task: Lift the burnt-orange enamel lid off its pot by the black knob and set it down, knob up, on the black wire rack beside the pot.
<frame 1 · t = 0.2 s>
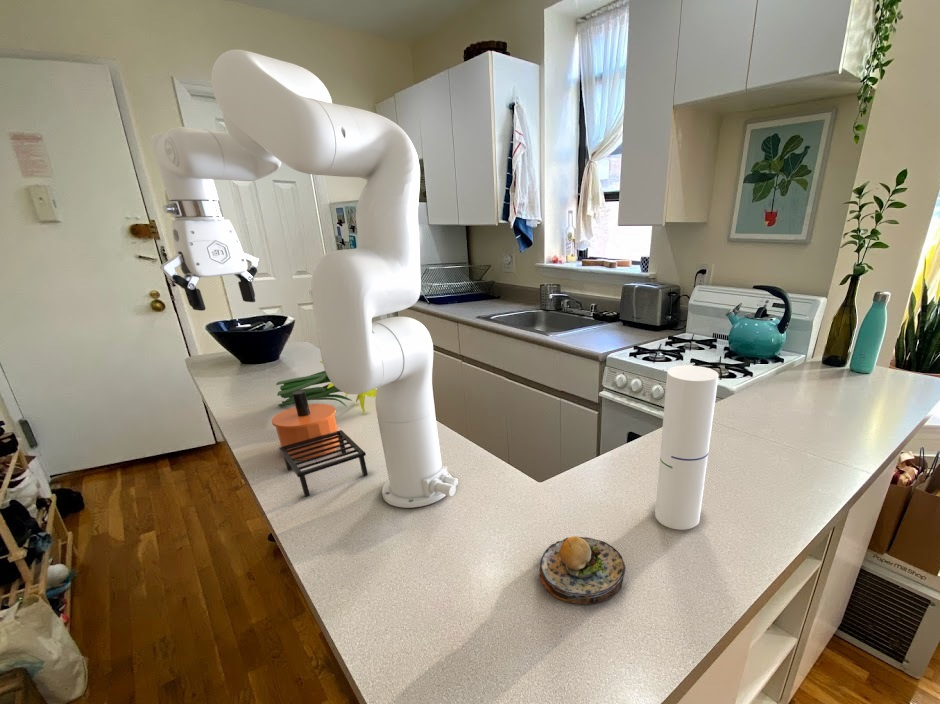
hand: (225, 305, 92), 31 cm above the worktop, tool pointing down, fingers open, 9 cm apart
burger: (581, 574, 65), on the worktop
cylindrical container: (676, 517, 77), on the worktop
lid: (304, 416, 99), point 7 cm above the worktop, touching pot
rack: (326, 472, 92), on the worktop
pot: (312, 447, 102), on the worktop
daffodil flowers: (328, 410, 122), on the worktop
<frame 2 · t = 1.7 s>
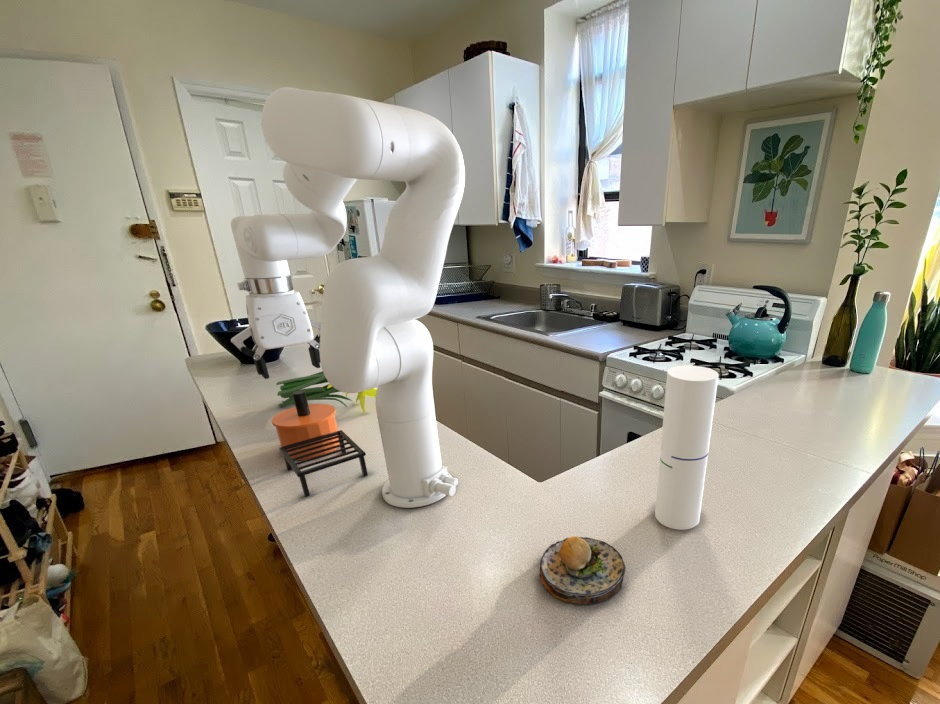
hand: (291, 371, 95), 18 cm above the worktop, tool pointing down, fingers open, 9 cm apart
nothing on the worktop moved.
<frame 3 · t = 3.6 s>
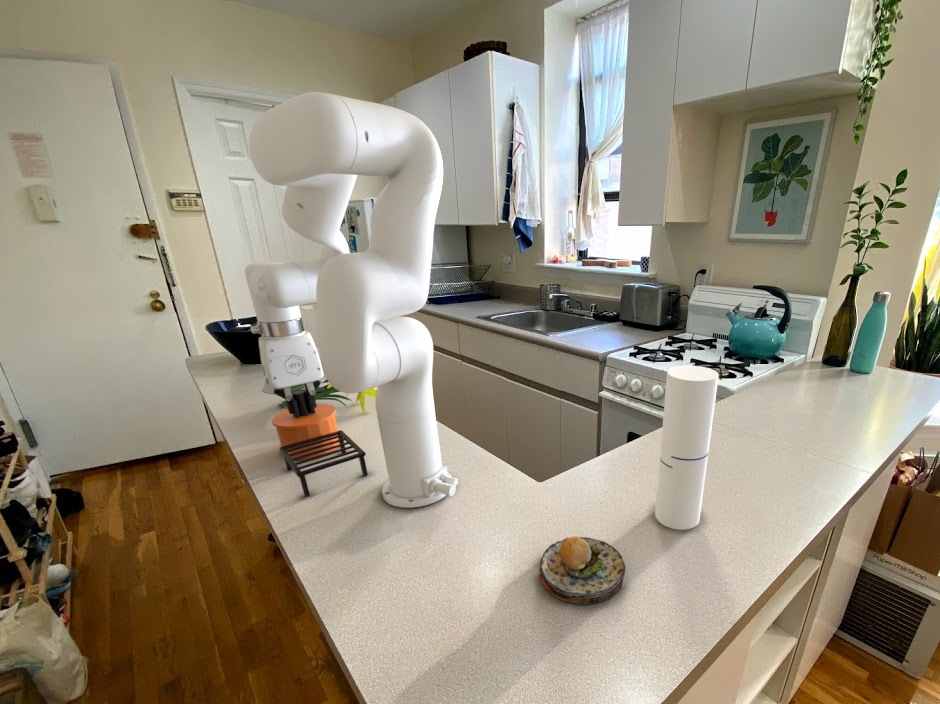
hand: (303, 413, 99), 8 cm above the worktop, tool pointing down, fingers closed on lid, 2 cm apart
lid: (304, 416, 99), point 8 cm above the worktop, touching gripper, pot
everything else where it was.
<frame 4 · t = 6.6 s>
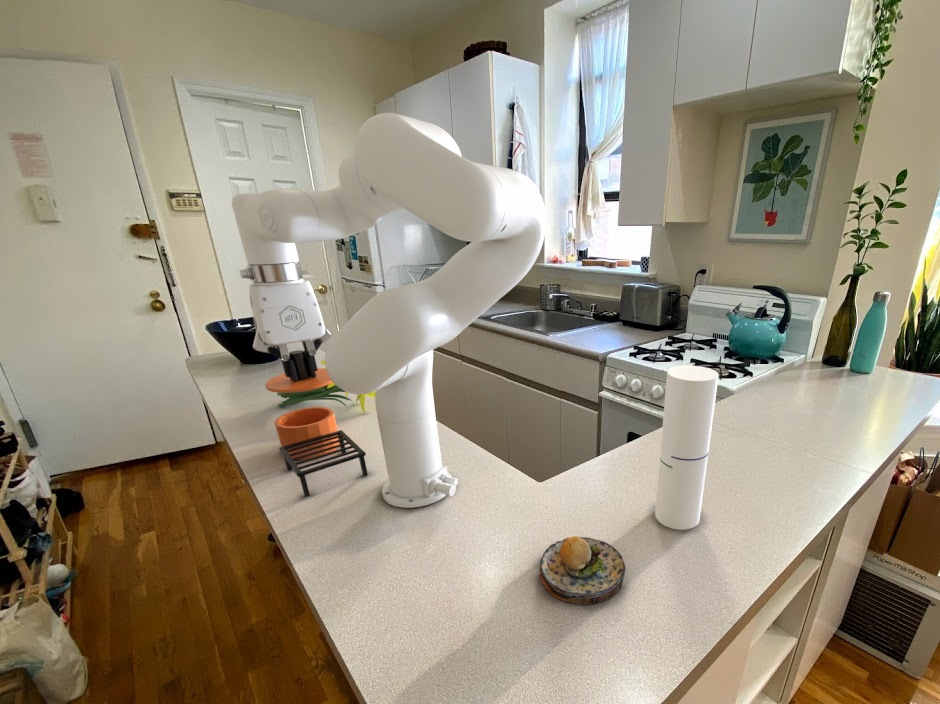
hand: (302, 377, 85), 20 cm above the worktop, tool pointing down, fingers closed on lid, 2 cm apart
lid: (303, 381, 86), point 19 cm above the worktop, touching gripper
everything else where it was.
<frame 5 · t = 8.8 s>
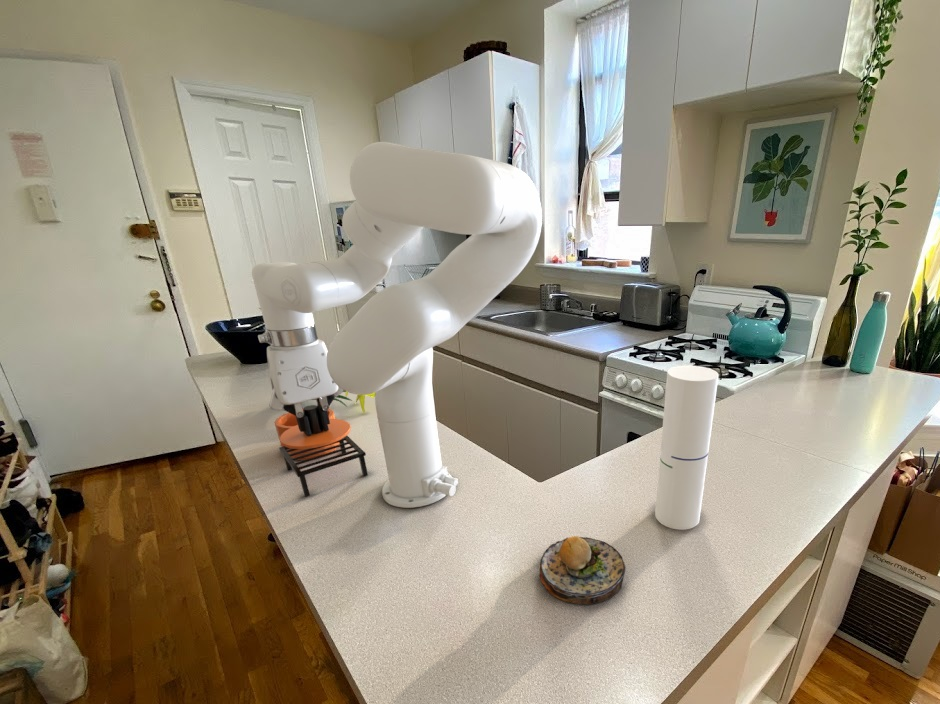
hand: (315, 430, 88), 9 cm above the worktop, tool pointing down, fingers closed on lid, 2 cm apart
lid: (316, 434, 89), point 8 cm above the worktop, touching gripper
everything else where it was.
when the fingers open (6 cm above the worktop, at t = 9.7 s): lid stays where it is, resting on rack.
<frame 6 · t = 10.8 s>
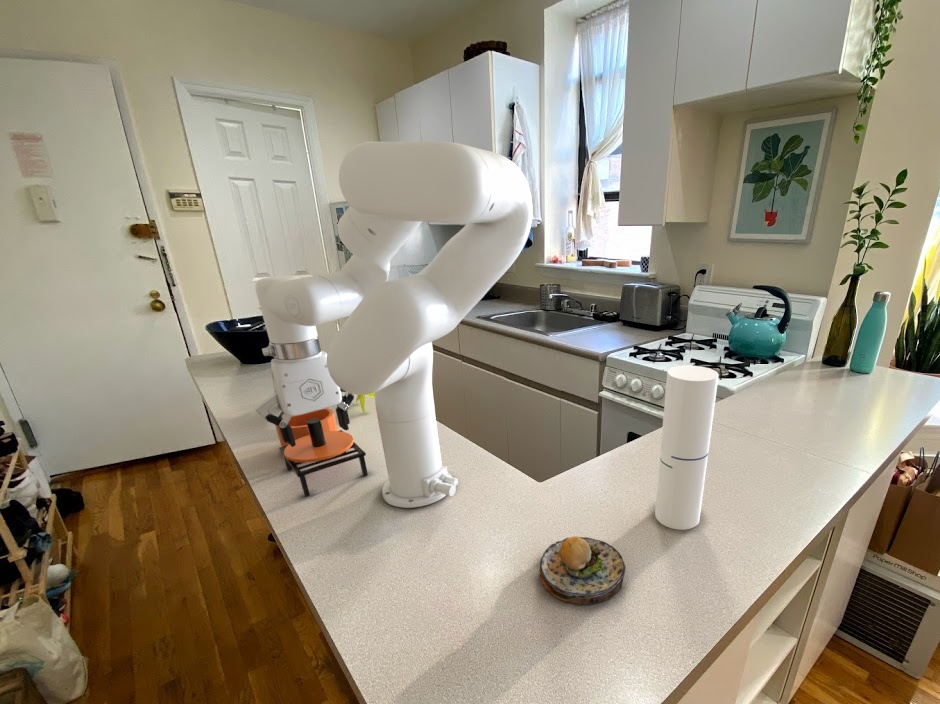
hand: (318, 435, 89), 8 cm above the worktop, tool pointing down, fingers open, 9 cm apart
lid: (320, 447, 90), point 6 cm above the worktop, touching rack
everything else where it was.
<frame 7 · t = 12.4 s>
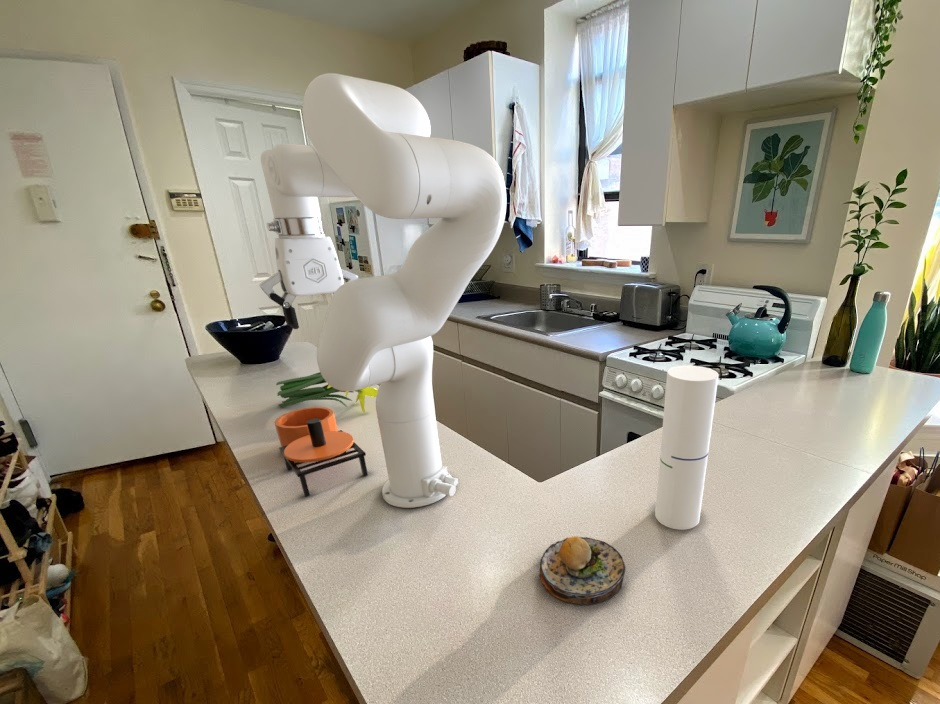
hand: (321, 323, 90), 28 cm above the worktop, tool pointing down, fingers open, 9 cm apart
nothing on the worktop moved.
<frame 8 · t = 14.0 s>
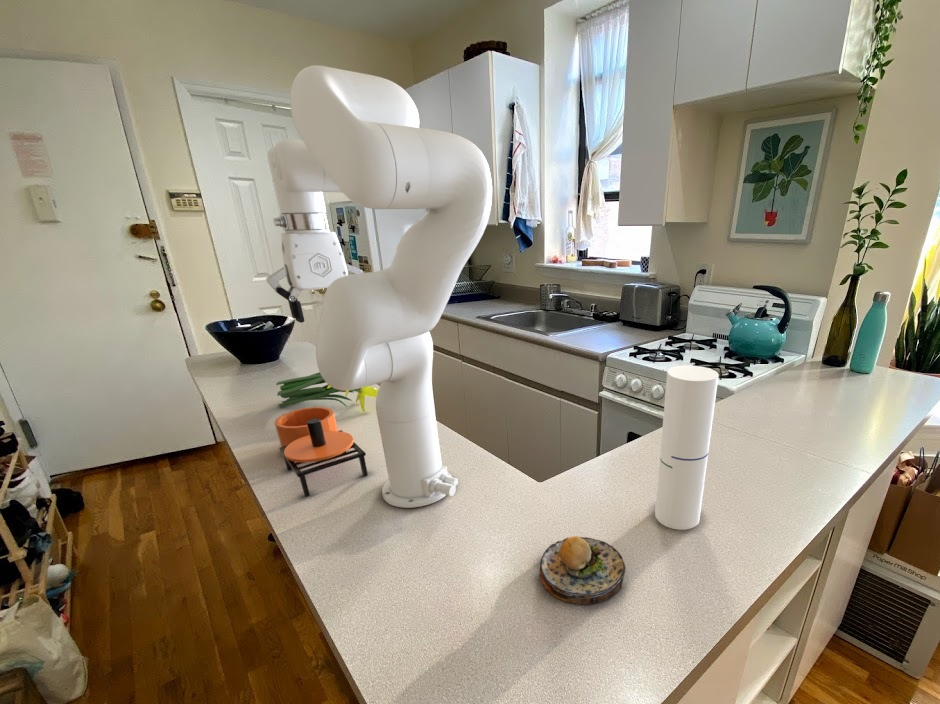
hand: (326, 317, 92), 28 cm above the worktop, tool pointing down, fingers open, 9 cm apart
nothing on the worktop moved.
at the end: lid inside the target area on the rack (0.2 cm from its centre), point 5.6 cm above the rack's base; lid tilted 0°; the gripper is holding nothing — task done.
